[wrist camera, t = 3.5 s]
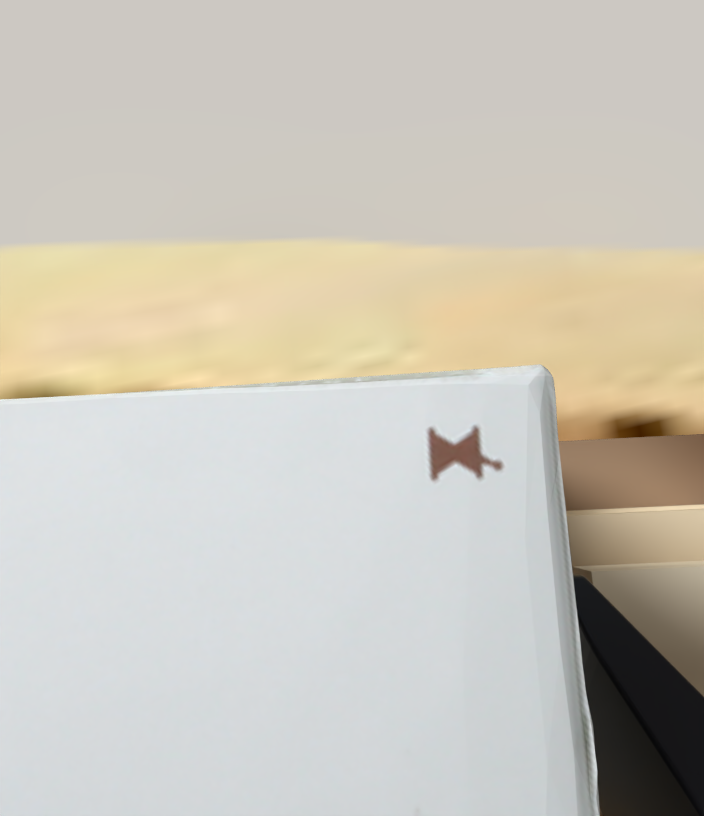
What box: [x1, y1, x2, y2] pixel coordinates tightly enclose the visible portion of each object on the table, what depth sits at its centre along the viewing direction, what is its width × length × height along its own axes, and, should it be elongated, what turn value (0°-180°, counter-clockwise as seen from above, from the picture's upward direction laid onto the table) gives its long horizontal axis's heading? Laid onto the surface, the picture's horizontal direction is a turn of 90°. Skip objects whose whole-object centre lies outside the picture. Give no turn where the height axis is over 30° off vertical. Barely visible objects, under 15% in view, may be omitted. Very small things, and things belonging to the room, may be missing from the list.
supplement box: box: [0, 365, 600, 816], centre depth 11 cm, size 7×7×13 cm
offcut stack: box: [566, 504, 704, 816], centre depth 14 cm, size 8×5×4 cm, turn 3°
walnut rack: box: [558, 434, 704, 511], centre depth 14 cm, size 12×8×5 cm, turn 3°
